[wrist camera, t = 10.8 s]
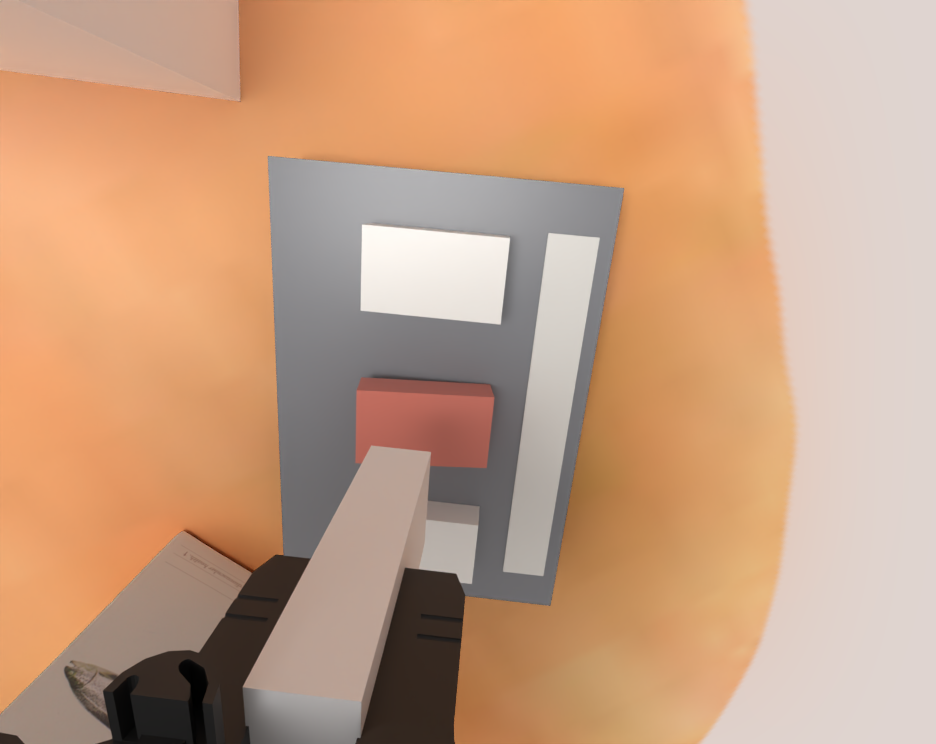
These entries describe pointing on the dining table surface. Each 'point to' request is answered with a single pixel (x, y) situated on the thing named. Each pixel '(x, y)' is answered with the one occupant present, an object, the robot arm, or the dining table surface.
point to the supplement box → (127, 642)
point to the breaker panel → (440, 346)
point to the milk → (127, 43)
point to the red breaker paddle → (426, 419)
